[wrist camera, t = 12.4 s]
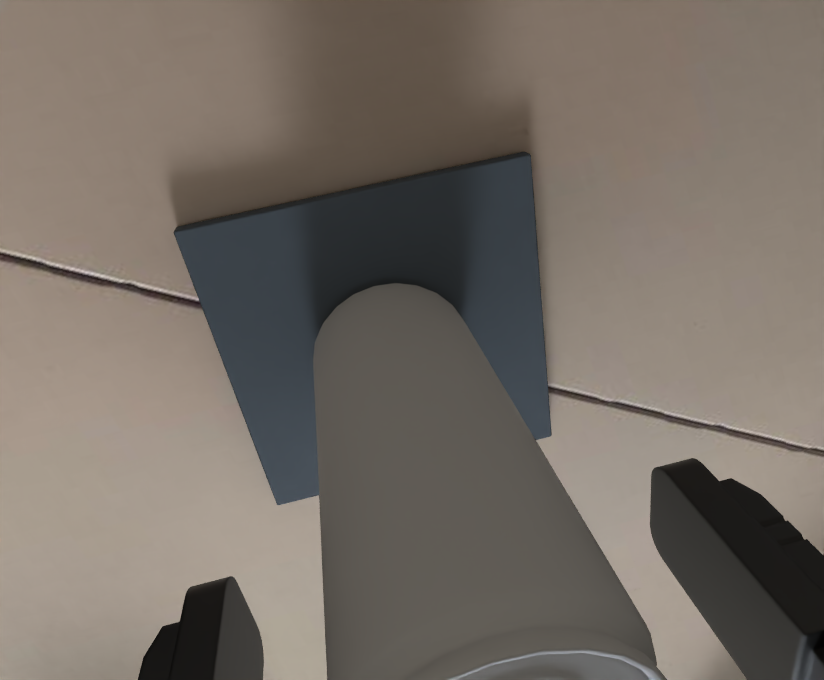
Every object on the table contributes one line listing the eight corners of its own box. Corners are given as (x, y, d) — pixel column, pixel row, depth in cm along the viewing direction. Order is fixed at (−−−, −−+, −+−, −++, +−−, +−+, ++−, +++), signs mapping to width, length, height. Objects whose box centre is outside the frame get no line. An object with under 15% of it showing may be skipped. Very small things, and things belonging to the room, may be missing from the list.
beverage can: (472, 274, 18) (730, 616, 7) (458, 409, 20) (642, 827, 9) (310, 276, 17) (330, 669, 6) (313, 417, 19) (334, 886, 8)
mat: (525, 150, 17) (531, 153, 16) (547, 428, 21) (552, 436, 21) (175, 226, 16) (172, 231, 16) (277, 496, 21) (277, 506, 20)
